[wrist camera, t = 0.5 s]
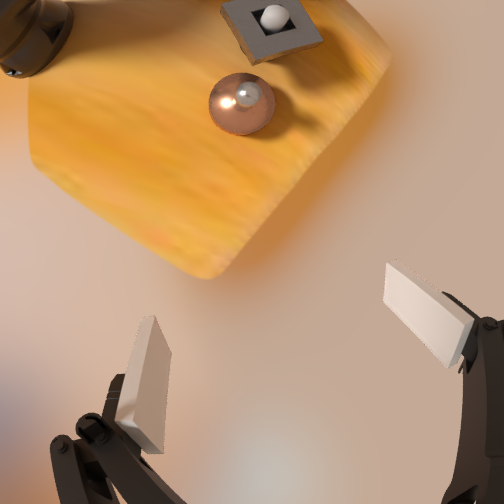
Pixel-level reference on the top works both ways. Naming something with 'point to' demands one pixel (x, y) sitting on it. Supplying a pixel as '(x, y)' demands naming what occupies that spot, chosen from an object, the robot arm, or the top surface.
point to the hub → (241, 104)
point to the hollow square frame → (273, 46)
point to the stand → (273, 20)
